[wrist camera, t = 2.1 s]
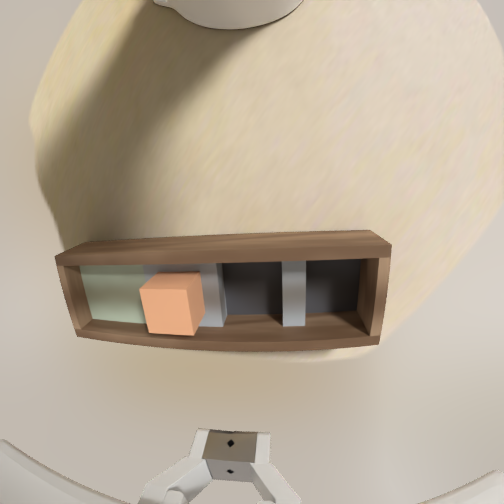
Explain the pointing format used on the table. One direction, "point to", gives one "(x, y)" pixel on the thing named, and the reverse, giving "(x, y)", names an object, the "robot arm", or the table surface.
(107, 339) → the box
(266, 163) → the table surface
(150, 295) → the block
